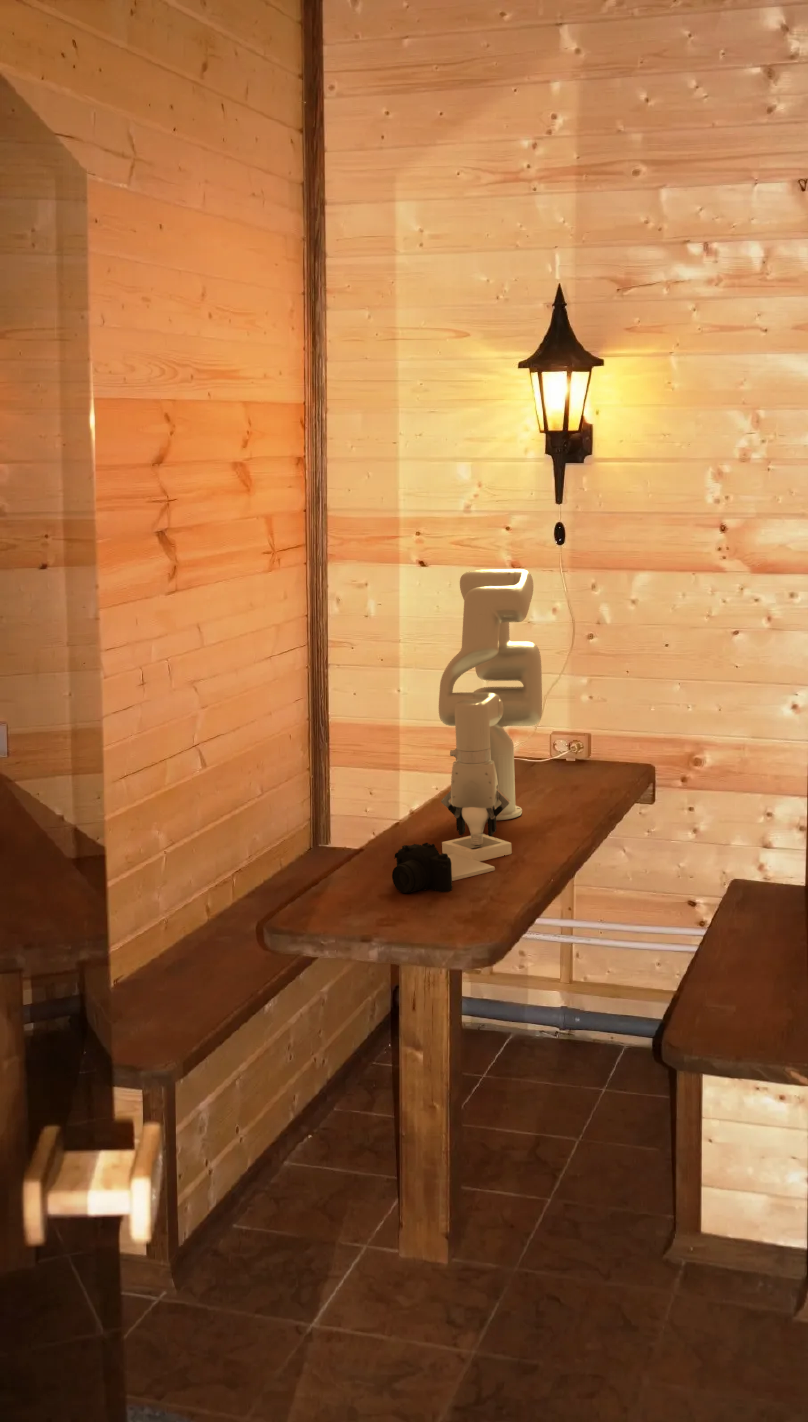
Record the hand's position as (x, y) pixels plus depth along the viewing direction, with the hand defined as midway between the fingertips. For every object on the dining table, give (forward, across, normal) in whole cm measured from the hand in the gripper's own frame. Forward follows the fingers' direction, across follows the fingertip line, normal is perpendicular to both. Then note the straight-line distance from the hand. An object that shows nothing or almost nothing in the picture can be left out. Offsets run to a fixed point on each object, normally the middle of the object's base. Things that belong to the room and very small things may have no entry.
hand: (476, 833), depth 326 cm
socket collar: (+4, 0, -1) cm, 4 cm away
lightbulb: (+3, 0, 0) cm, 3 cm away
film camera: (+4, -6, -27) cm, 28 cm away
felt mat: (+4, -3, -14) cm, 15 cm away
